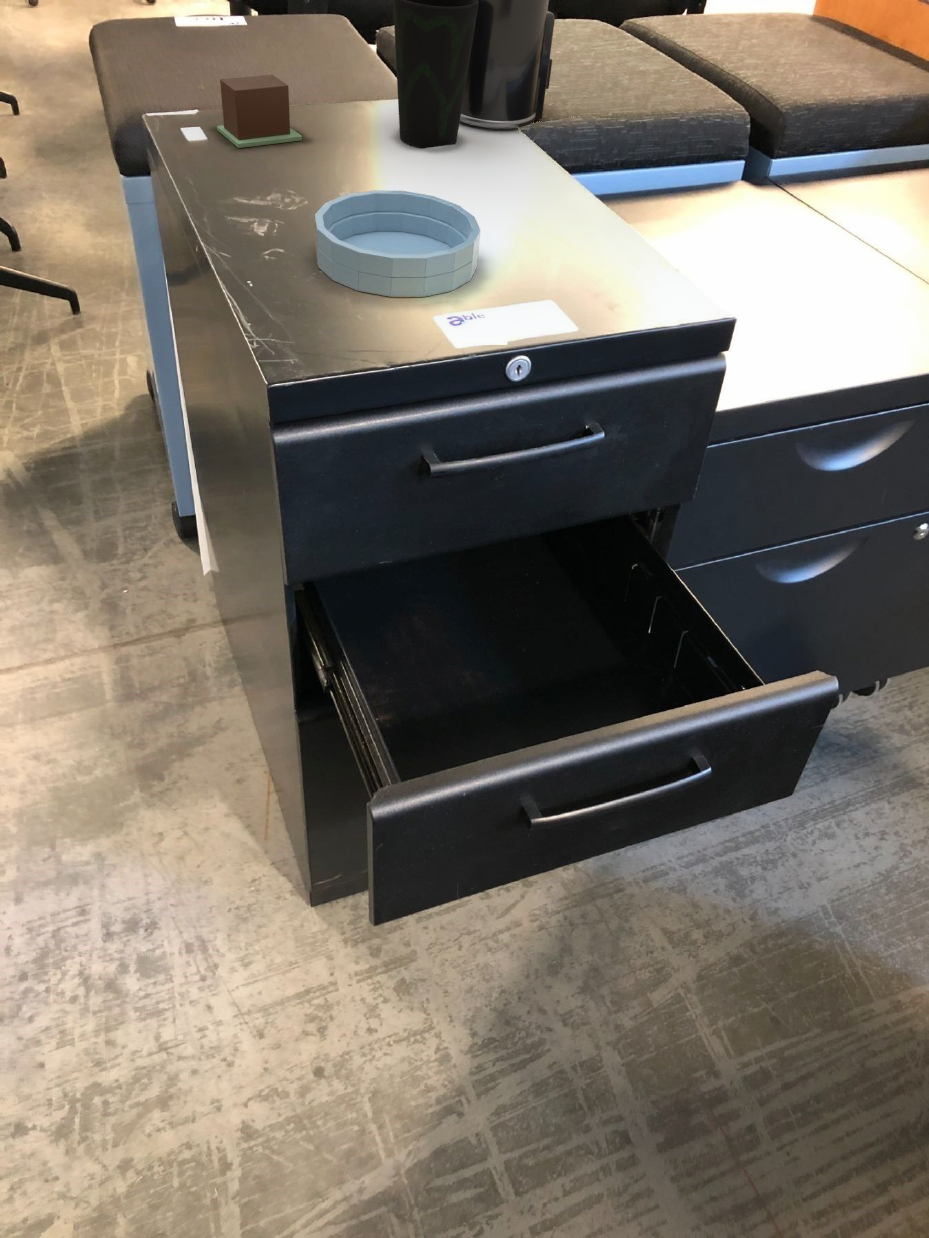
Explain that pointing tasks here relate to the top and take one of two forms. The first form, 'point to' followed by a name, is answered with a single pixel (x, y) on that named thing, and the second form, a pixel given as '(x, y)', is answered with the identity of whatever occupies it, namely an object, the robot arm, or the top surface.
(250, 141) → the green rectangular slab
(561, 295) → the top surface
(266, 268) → the top surface
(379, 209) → the pan
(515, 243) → the top surface
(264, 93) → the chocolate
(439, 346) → the top surface
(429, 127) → the cup
